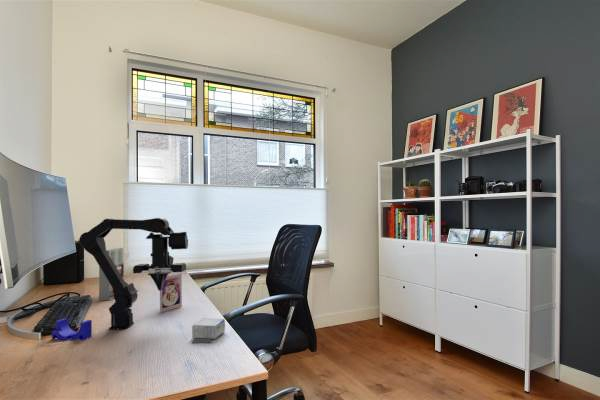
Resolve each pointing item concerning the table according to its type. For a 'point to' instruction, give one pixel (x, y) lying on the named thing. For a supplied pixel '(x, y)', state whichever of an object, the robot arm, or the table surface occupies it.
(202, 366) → the table surface
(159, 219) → the robot arm
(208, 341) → the pad
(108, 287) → the tall grey pillar
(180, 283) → the greeting card
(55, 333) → the blue notched block
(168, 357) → the table surface
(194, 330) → the medicine box
